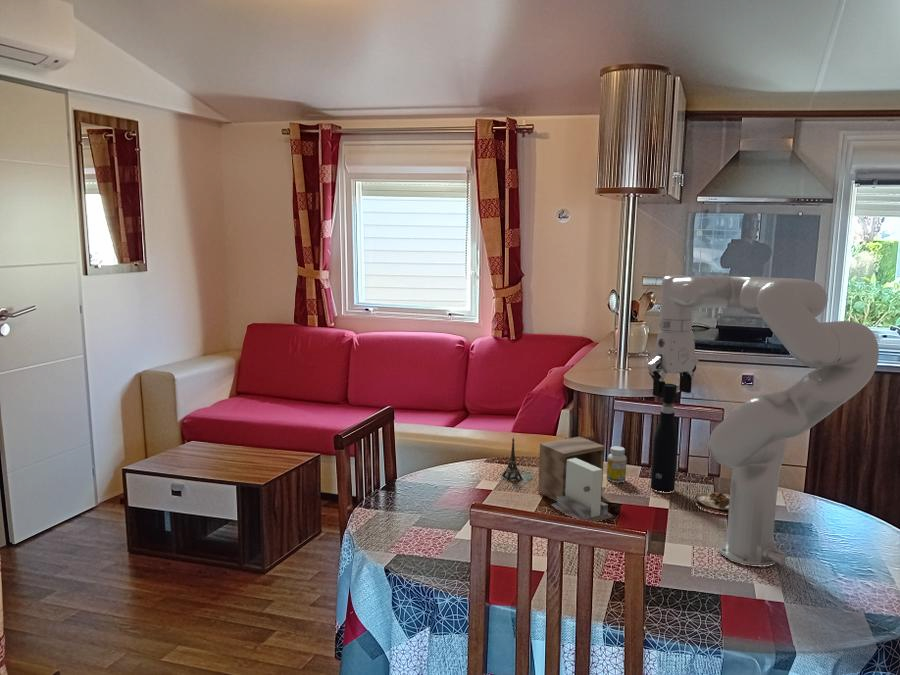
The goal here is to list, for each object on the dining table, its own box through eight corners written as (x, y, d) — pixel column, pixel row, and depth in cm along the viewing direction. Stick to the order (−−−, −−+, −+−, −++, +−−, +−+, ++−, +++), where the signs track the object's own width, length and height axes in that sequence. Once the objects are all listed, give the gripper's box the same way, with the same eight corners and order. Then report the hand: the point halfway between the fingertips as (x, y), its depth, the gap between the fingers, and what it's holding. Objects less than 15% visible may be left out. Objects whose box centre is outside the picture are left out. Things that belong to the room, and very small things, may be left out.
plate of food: (762, 517, 185) (764, 501, 184) (711, 522, 181) (712, 506, 180) (726, 496, 199) (728, 481, 198) (678, 500, 195) (679, 485, 194)
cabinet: (636, 512, 185) (640, 459, 183) (585, 525, 176) (587, 471, 174) (577, 484, 205) (579, 436, 202) (528, 495, 196) (529, 445, 193)
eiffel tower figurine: (518, 491, 200) (519, 445, 198) (485, 484, 205) (486, 439, 203) (539, 475, 213) (541, 431, 210) (508, 469, 218) (510, 426, 215)
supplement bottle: (624, 484, 205) (626, 452, 203) (605, 482, 207) (606, 449, 205) (626, 478, 210) (628, 446, 208) (607, 476, 212) (609, 444, 210)
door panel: (599, 515, 180) (602, 469, 178) (587, 518, 178) (590, 472, 176) (573, 501, 189) (575, 457, 187) (561, 504, 187) (563, 460, 185)
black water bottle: (671, 486, 204) (678, 382, 199) (676, 494, 198) (683, 388, 193) (648, 485, 205) (655, 381, 200) (652, 493, 198) (659, 387, 194)
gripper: (663, 330, 169) (659, 401, 171) (711, 325, 178) (707, 393, 180) (639, 326, 175) (636, 395, 177) (686, 322, 184) (683, 387, 187)
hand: (672, 394), depth 179 cm, fingers open, 9 cm apart
